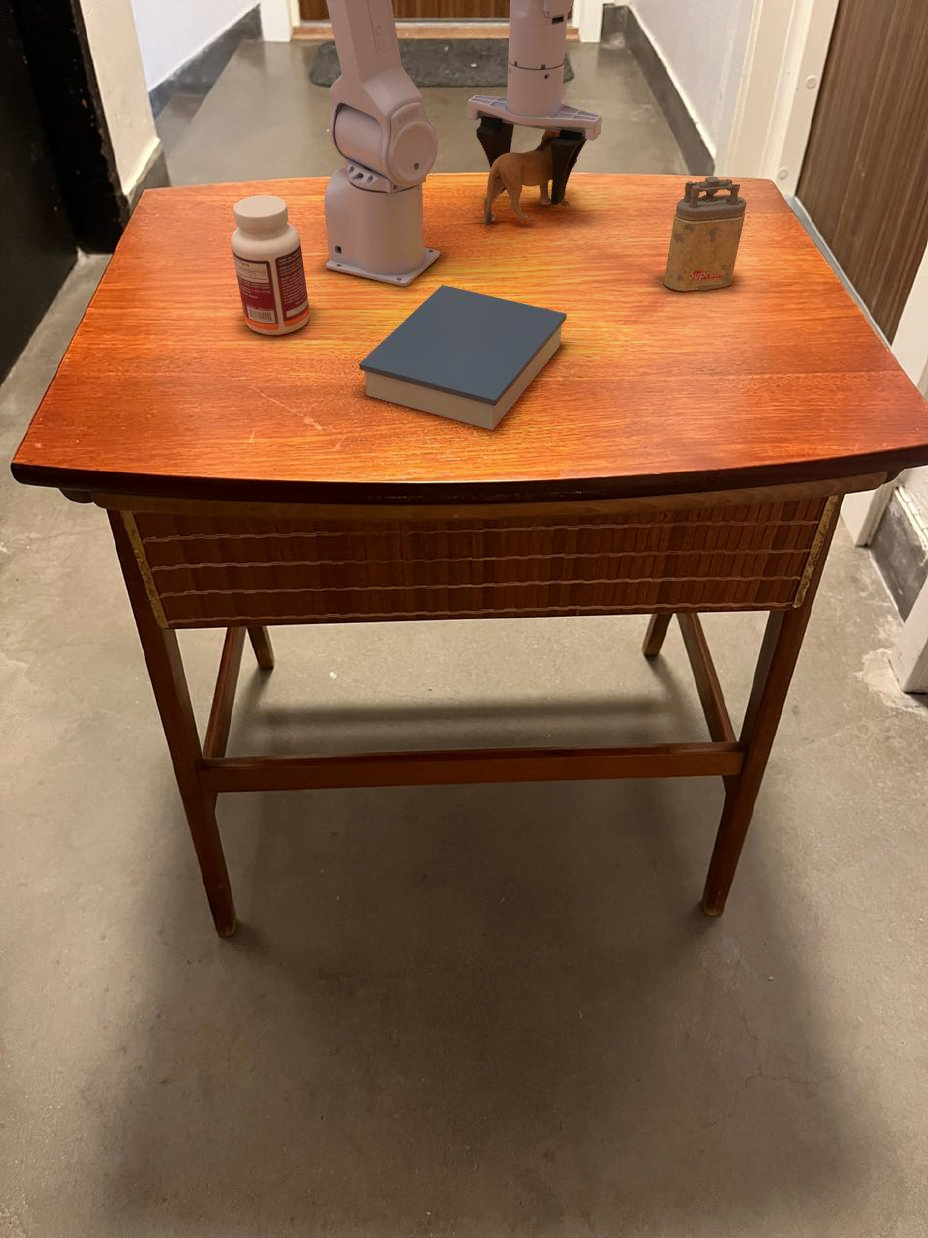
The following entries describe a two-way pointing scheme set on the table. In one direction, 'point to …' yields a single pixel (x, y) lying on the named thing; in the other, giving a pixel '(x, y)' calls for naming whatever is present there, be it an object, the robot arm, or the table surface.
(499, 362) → the blue book
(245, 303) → the pill bottle
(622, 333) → the table surface
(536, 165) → the lion figurine
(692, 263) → the lighter
